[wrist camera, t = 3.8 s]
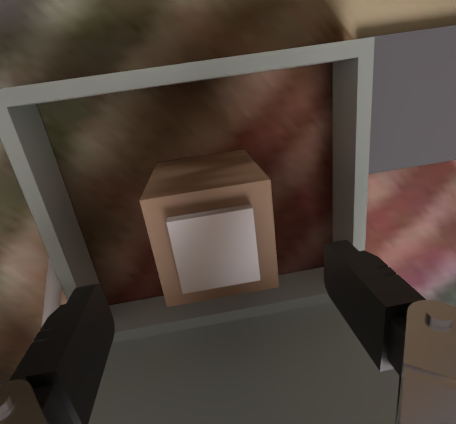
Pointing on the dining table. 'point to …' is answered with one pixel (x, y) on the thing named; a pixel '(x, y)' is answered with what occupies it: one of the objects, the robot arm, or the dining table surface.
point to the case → (225, 306)
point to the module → (211, 227)
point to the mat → (413, 99)
